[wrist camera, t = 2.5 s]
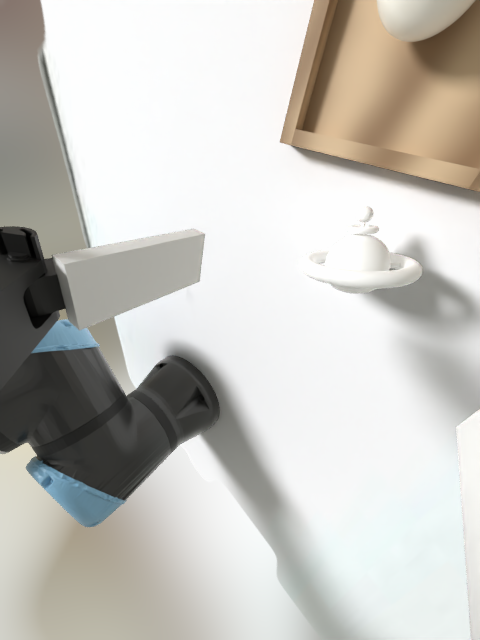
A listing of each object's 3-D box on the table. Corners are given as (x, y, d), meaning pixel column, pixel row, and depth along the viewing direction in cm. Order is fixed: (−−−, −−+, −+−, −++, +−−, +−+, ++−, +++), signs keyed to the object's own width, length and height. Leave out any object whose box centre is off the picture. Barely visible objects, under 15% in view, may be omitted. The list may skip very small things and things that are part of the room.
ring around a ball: (317, 269, 24) (280, 296, 18) (324, 204, 21) (284, 210, 16) (417, 282, 20) (410, 322, 14) (440, 203, 17) (445, 211, 11)
